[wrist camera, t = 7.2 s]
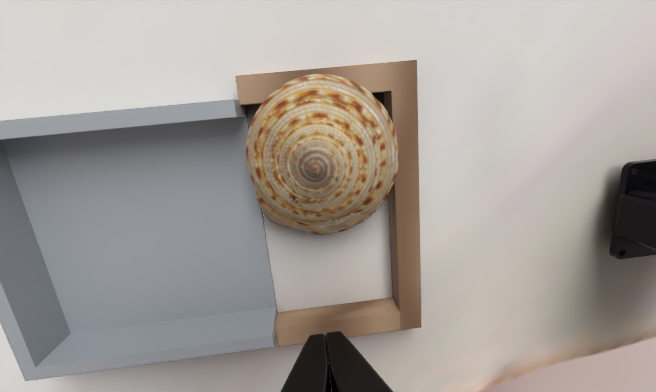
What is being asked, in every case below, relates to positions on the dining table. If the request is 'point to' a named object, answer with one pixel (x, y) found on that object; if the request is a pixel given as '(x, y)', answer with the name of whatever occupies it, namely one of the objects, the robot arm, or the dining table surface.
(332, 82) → the seashell
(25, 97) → the dining table surface
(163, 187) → the tray
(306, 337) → the cradle
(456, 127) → the dining table surface
